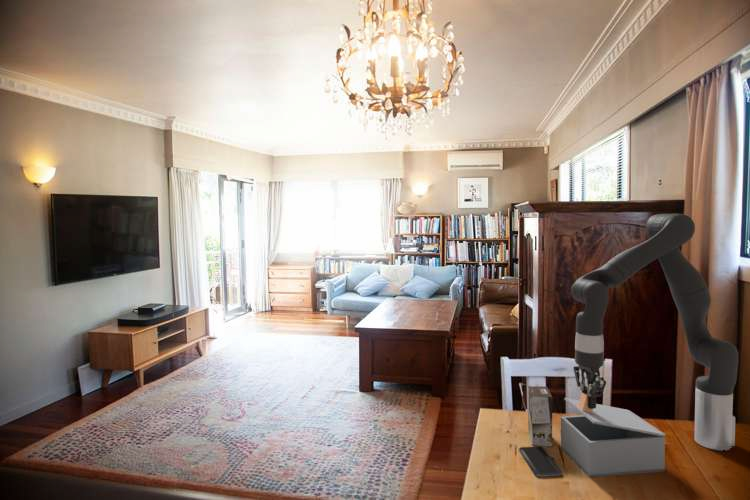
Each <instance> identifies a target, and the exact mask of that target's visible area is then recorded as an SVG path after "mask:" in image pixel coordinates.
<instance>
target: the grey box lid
mask: <svg viewBox="0 0 750 500" xmlns="http://www.w3.org/2000/svg"><path fill="white" fill-rule="evenodd" d="M563 400H564V401H566V402H567V403H568V404H569V405H570V406H572V407H573V408H574V409H575V410H576V411H578V412H579V413H580V415H584V416H585V417H586V418H588V419H589V420H590V421H591V422H592V423H595V424H600V425H605V426H611V427H616V428H621V429H626V430H632V431H637V432H642V433H648V434H653V435H658V436H664V437H665V438H666V434H665V433H664V432H663V431H660V430H659V429H658V428H656V427H654V426H653V425H652V424H651V423H649V422H647V420H645V419H643V418H642V417H640V416H638V415H637V414H635V413H634V412H632V411H631V410H629V409H626V408H625V409H624V408H622V407H621V408H620V407H616V406H610V405H606V404H605V405H604V404H599V403H596V408H595V409H589V408H588V394H585V393H582V392H581V395H580V399H573V398H567V397H564V399H563Z"/></svg>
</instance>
